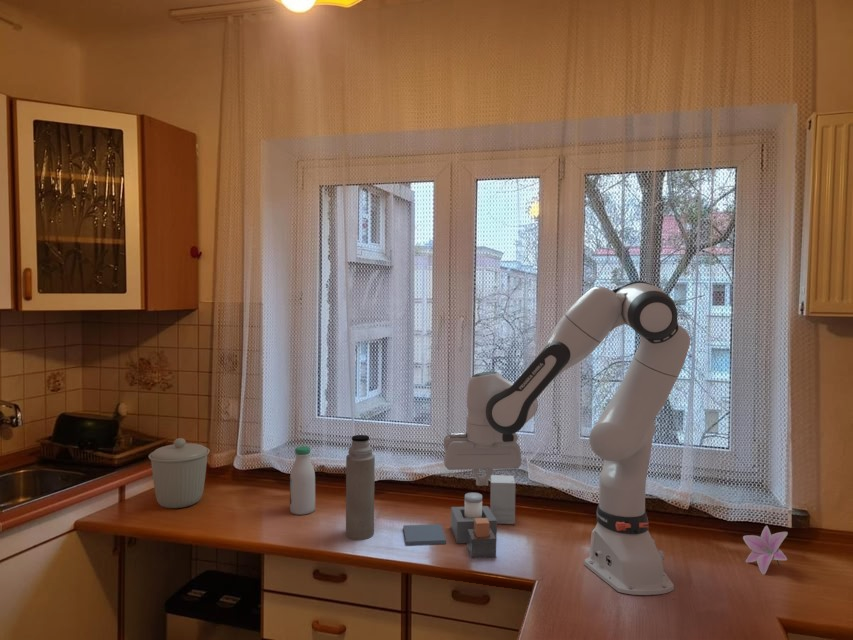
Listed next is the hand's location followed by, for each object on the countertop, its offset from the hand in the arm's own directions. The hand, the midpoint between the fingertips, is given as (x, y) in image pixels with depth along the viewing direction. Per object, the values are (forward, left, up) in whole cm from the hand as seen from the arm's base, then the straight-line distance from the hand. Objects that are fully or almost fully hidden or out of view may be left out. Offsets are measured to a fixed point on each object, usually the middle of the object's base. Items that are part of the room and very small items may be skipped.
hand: (482, 485), depth 149 cm
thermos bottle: (+14, +32, -18) cm, 40 cm away
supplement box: (+21, -11, -18) cm, 30 cm away
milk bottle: (+33, +50, -18) cm, 63 cm away
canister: (+43, +90, -18) cm, 102 cm away
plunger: (0, 0, -16) cm, 16 cm away
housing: (+11, 0, -18) cm, 21 cm away
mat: (+11, +14, -18) cm, 26 cm away
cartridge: (+11, 0, -18) cm, 21 cm away
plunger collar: (0, 0, -18) cm, 18 cm away
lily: (-14, -71, -18) cm, 74 cm away
